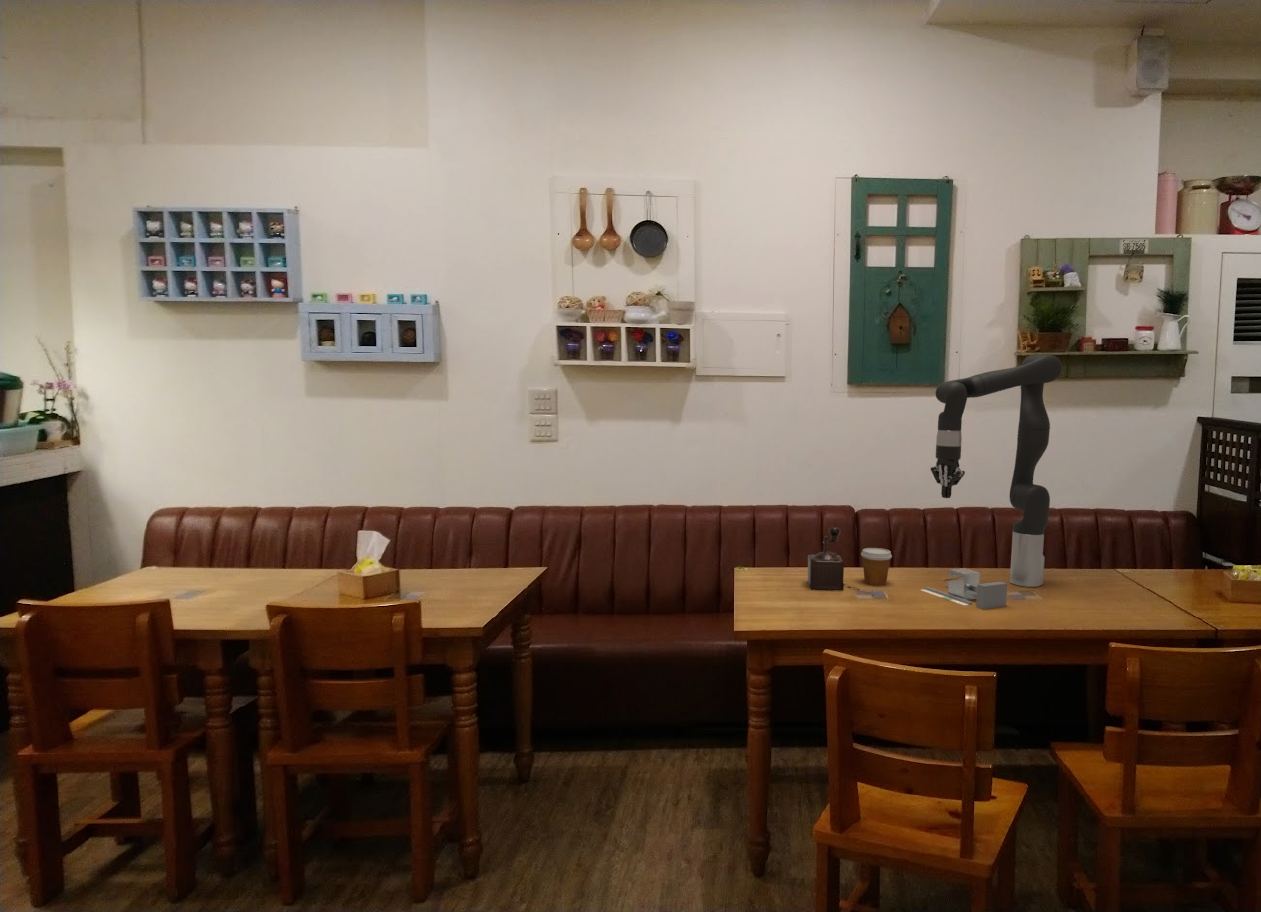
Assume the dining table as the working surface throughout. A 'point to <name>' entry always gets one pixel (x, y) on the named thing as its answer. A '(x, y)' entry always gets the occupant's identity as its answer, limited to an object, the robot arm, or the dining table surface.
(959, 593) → the gauge carriage
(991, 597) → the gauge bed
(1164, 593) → the dining table surface
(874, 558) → the disposable coffee cup
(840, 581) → the manual coffee grinder
